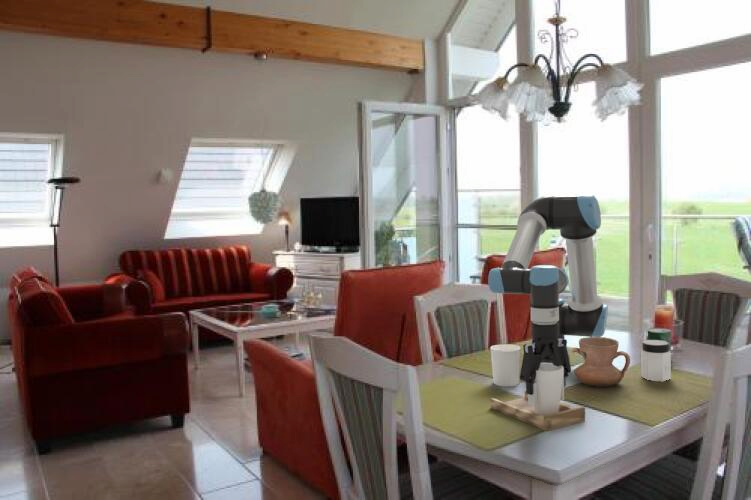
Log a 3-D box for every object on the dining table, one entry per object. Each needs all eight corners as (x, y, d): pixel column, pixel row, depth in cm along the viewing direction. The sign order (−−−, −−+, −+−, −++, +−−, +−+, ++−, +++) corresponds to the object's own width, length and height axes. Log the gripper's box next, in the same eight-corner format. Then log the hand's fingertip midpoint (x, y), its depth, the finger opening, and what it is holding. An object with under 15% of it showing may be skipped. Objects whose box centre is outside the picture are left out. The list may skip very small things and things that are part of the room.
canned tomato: (645, 360, 235) (645, 331, 234) (649, 356, 241) (649, 327, 240) (669, 363, 230) (669, 333, 229) (672, 358, 237) (672, 328, 236)
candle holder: (522, 379, 216) (522, 344, 215) (519, 388, 207) (518, 351, 206) (493, 378, 220) (492, 343, 219) (489, 386, 210) (488, 350, 209)
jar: (659, 383, 207) (659, 346, 206) (636, 378, 214) (636, 342, 213) (675, 378, 212) (675, 342, 211) (652, 373, 218) (652, 338, 217)
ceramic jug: (568, 387, 206) (568, 344, 205) (573, 375, 219) (573, 334, 218) (629, 393, 199) (629, 348, 197) (630, 380, 212) (630, 337, 211)
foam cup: (524, 408, 183) (524, 363, 182) (556, 406, 183) (555, 361, 182) (535, 419, 173) (535, 372, 172) (569, 417, 174) (568, 370, 173)
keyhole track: (490, 407, 189) (490, 395, 189) (527, 399, 196) (527, 387, 195) (546, 431, 169) (546, 417, 168) (585, 420, 175) (585, 407, 175)
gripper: (523, 329, 168) (524, 413, 170) (584, 319, 178) (585, 398, 180) (504, 324, 175) (506, 405, 176) (564, 315, 185) (565, 391, 187)
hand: (546, 402), depth 178 cm, fingers closed on foam cup, 9 cm apart
